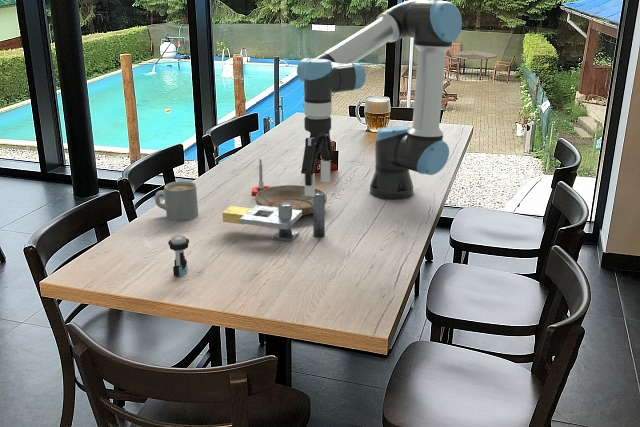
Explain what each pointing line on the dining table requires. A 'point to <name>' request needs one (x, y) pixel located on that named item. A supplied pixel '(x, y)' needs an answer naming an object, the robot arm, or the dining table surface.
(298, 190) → the ceramic bowl
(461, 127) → the dining table surface
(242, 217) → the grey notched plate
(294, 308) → the dining table surface
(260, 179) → the tow hook
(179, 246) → the push button
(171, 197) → the coffee mug
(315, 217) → the pin
